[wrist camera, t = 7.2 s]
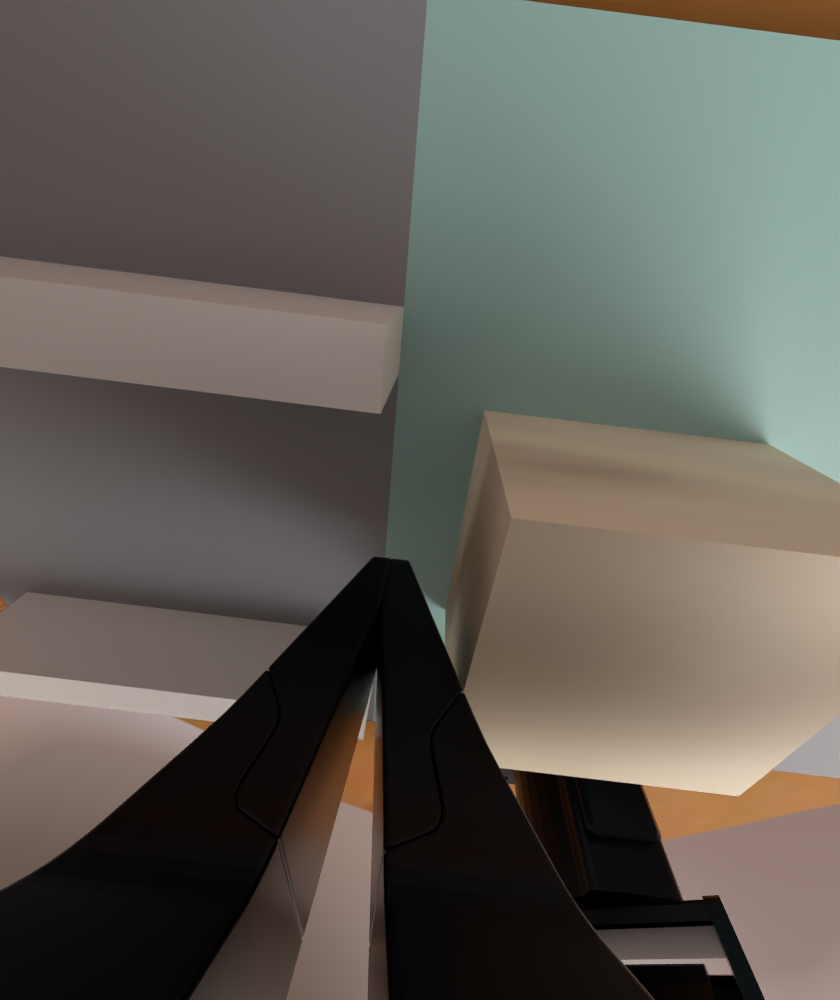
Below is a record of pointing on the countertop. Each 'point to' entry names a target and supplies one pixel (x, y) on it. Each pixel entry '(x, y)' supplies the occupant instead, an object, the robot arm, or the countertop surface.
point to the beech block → (644, 603)
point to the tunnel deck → (370, 299)
